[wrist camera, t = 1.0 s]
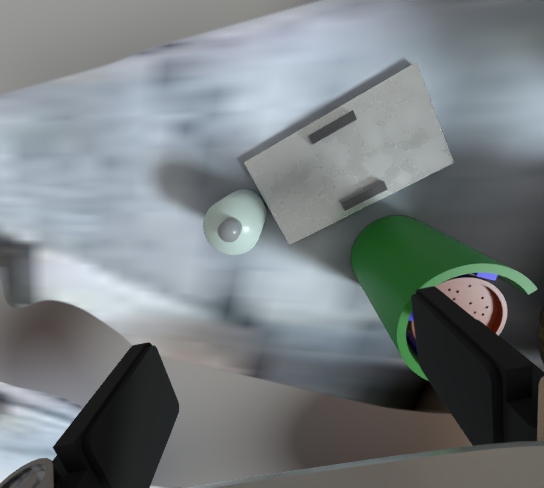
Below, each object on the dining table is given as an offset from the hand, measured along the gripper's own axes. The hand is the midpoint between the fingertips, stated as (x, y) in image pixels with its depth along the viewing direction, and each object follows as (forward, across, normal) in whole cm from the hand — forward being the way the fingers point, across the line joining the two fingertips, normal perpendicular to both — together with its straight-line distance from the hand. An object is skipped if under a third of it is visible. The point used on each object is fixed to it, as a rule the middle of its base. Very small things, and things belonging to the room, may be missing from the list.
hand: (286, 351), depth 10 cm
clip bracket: (+25, -8, -4) cm, 27 cm away
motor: (+26, -12, +8) cm, 29 cm away
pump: (+26, +4, -1) cm, 26 cm away
